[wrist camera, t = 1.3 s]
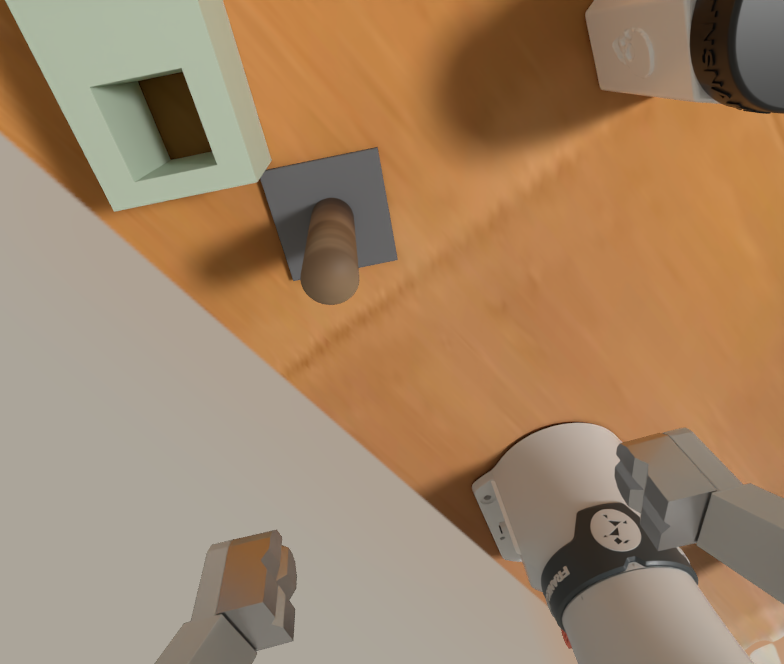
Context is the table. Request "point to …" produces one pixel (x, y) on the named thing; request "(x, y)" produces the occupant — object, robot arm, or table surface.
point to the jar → (692, 50)
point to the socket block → (126, 101)
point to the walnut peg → (330, 253)
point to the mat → (331, 180)
